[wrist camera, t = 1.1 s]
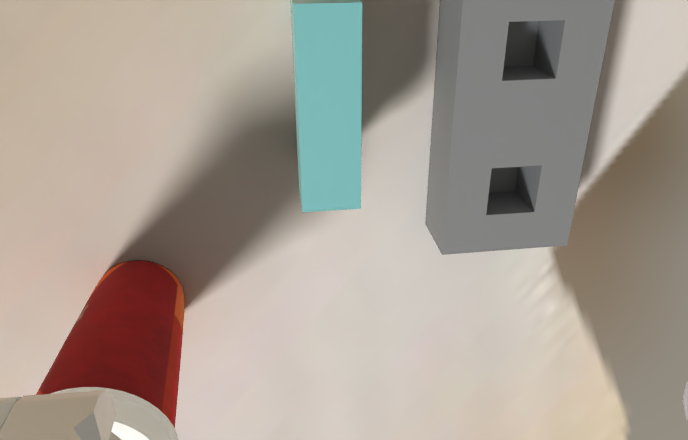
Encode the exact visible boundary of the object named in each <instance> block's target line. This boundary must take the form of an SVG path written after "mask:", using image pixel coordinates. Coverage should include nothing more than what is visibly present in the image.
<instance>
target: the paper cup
mask: <svg viewBox="0 0 688 440" xmlns="http://www.w3.org/2000/svg"><path fill="white" fill-rule="evenodd" d="M183 321H184V291H183V288H182V285H181V283H180V281H179V280H178V278H177V277H176V276H175V275H174V274H173V273H172V272H171V271H170V270H168V269H167V268H165V267H163V266H161V265H159V264H157V263H154V262H150V261H143V260H134V261H127V262H123V263H120V264H118V265H116V266H114V267H113V268H111V269H110V270H109V271H107V272H106V273H105V275H104V276H103V277H102V278H101V280H100V281H99V283H98V284H97V286H96V288H95V289H94V291H93V293H92V294H91V296H90V298H89V300H88V301H87V303H86V305H85V307H84V309H83V310H82V312H81V314H80V316H79V317H78V319H77V321H76V323H75V325H74V327H73V328H72V330H71V332H70V334H69V336H68V337H67V339H66V341H65V343H64V345H63V346H62V348H61V350H60V352H59V354H58V356H57V357H56V359H55V361H54V363H53V365H52V367H51V368H50V370H49V372H48V374H47V376H46V377H45V379H44V381H43V383H42V385H41V387H40V388H39V390H38V392H37V394H36V395H43V394H57V393H70V392H84V391H97V390H106V391H107V392H109V393H110V394H111V396H112V400H113V404H114V407H115V411H116V417H115V420H114V424H113V427H112V431H111V432H113V433H114V434H115V435H117V436H118V437H119V438H120V439H122V440H178V436H177V433H176V430H175V418H176V406H177V395H178V383H179V371H180V359H181V347H182V334H183Z"/></svg>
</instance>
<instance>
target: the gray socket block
mask: <svg viewBox="0 0 688 440" xmlns="http://www.w3.org/2000/svg"><path fill="white" fill-rule="evenodd" d="M614 2H615V0H440V9H439V25H438V40H437V55H436V71H435V86H434V102H433V117H432V132H431V148H430V163H429V178H428V194H427V209H426V226H427V228H428V229H429V231H430V233H431V235H432V237H433V239H434V241H435V242H436V244H437V246H438V248H439V250H440V252H441V253H442V255H443V254H457V253H470V252H483V251H497V250H510V249H523V248H537V247H550V246H563V245H567V243H568V238H569V233H570V228H571V223H572V218H573V212H574V207H575V202H576V197H577V192H578V187H579V182H580V177H581V171H582V166H583V161H584V156H585V151H586V146H587V141H588V135H589V130H590V125H591V120H592V115H593V110H594V105H595V100H596V94H597V89H598V84H599V79H600V74H601V69H602V64H603V59H604V53H605V48H606V43H607V38H608V33H609V28H610V23H611V18H612V12H613V7H614Z"/></svg>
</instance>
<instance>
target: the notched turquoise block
mask: <svg viewBox="0 0 688 440" xmlns="http://www.w3.org/2000/svg"><path fill="white" fill-rule="evenodd" d="M290 3H291V24H292V46H293V68H294V89H295V111H296V133H297V154H298V176H299V193H300V200H301V207H302V212H314V211H330V210H345V209H360V208H361V113H362V2H361V1H360V0H290Z"/></svg>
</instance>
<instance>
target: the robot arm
mask: <svg viewBox="0 0 688 440" xmlns="http://www.w3.org/2000/svg"><path fill="white" fill-rule="evenodd" d="M683 403H684V408H685V414H686V419H687V421H688V380H687V384H686V387H685V391H684V396H683ZM115 417H116V411H115V407H114V404H113V400H112V396H111V394H110V393H109V392H107V391H106V390H97V391H84V392H70V393H57V394H43V395H30V396H23V397H12V398H0V440H122V439H120V438H119V437H118V436H117V435H115V434H114V433H113V432H111V431H112V427H113V424H114V420H115Z"/></svg>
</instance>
